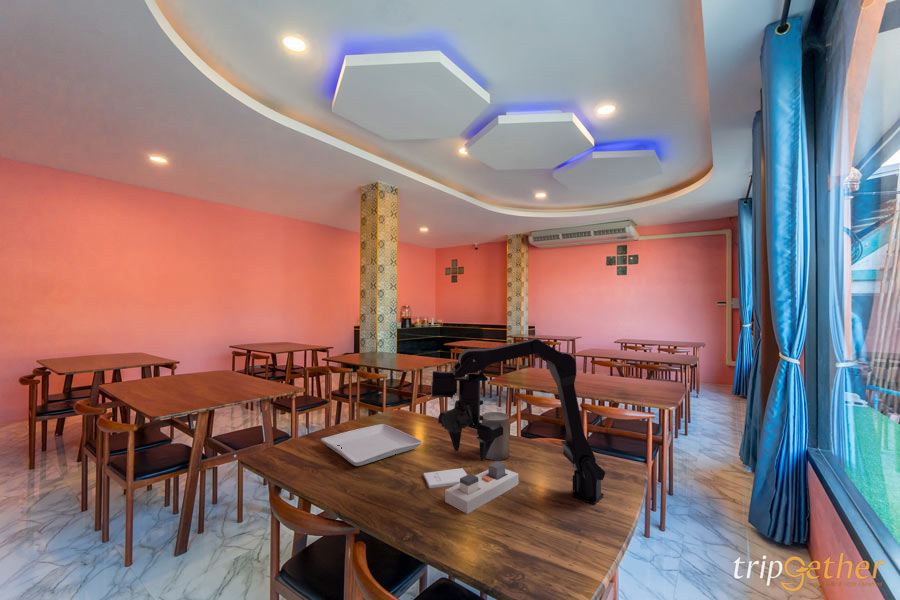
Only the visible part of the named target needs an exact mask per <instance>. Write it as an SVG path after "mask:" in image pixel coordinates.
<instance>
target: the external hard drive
mask: <svg viewBox="0 0 900 600" xmlns="http://www.w3.org/2000/svg"><path fill="white" fill-rule="evenodd" d="M466 475H468V473H467V472H466V471H465V470H464V468H463V467H460V468H452V469H445V470H438V471H430V472H423V478H424V479H425V480H424V481H426V484H427V487H428V488H429V489H434V488H441V487H442V488H443V487H450V486H451V487H452V486H455V485H457V484H459V483H460V478H462V477H464V476H466Z"/></svg>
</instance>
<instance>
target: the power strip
mask: <svg viewBox="0 0 900 600" xmlns="http://www.w3.org/2000/svg"><path fill="white" fill-rule="evenodd" d="M488 474H489V468H488V469H486V470H484V471H483V472H480V473H477V474H476V475H475V476H476V477H478V491H476V492H474V493H472V494H470V495H466V494H464V493H462V492H460V483H459V484H457V485H452V486H451V487H449V488H447V489H445V490H444V502H445V503H446V504H448V505H450V506H452V507H454V508H455V509H458V510H459V511H461V512H463V513H464V514H466V515H468V514H470V513H472V512H474V511H476V510H477V509H478V508H480V507H482V506H484V505H485V504H487V503H489V502H491V501H493V500H494V499H496V498H498V497H499V496H501V495H503V494H505V493H506V492H508V491H510V490H511V489H513V488H514V487H517V486H518V485H519V473H517V472H514V471H512V470H510V469H508V468H505V476H504V477H502V478H500V479H498V480H496V479H493V478H491V477H489V476H488Z"/></svg>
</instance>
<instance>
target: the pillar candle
mask: <svg viewBox="0 0 900 600" xmlns="http://www.w3.org/2000/svg"><path fill="white" fill-rule="evenodd" d="M480 415H481V416H483V420H481V423H485V422H488V421H493V422H497V423H500V424H501V425H502V426H503V435H501V436H499V437H497V438H495V439H494V441H493V443H492V444H491V446H490V449H489V451H488V453H487V455H486V457H485V459H487V460H489V459H490V460H491V461H503V460H506V459H508V458H509V457H510V416H509V414H507V413H505V412H504V413H503V412H500V411H490V412H484V413H482V414H480Z"/></svg>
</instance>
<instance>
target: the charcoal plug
mask: <svg viewBox="0 0 900 600" xmlns="http://www.w3.org/2000/svg"><path fill="white" fill-rule="evenodd" d="M488 469H489V474H488V476H489V477H491V478H493V479H496V480H498V479H500V478H502V477H504V476H505V469H506V464H505V463H503V462H502V461H500V460H495V462H492V463H489V464H488Z"/></svg>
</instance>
